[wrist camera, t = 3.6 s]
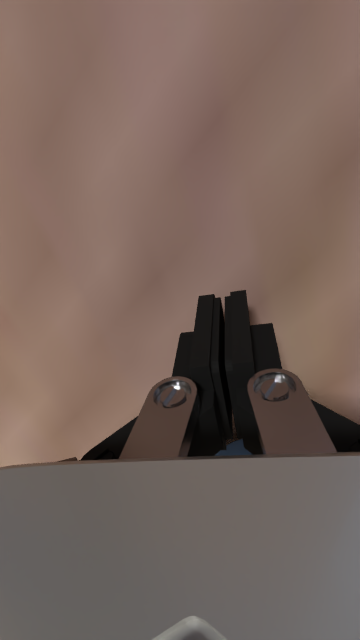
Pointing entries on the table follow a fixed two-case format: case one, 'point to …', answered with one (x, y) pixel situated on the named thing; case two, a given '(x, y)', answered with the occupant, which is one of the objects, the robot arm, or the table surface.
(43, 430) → the table surface
